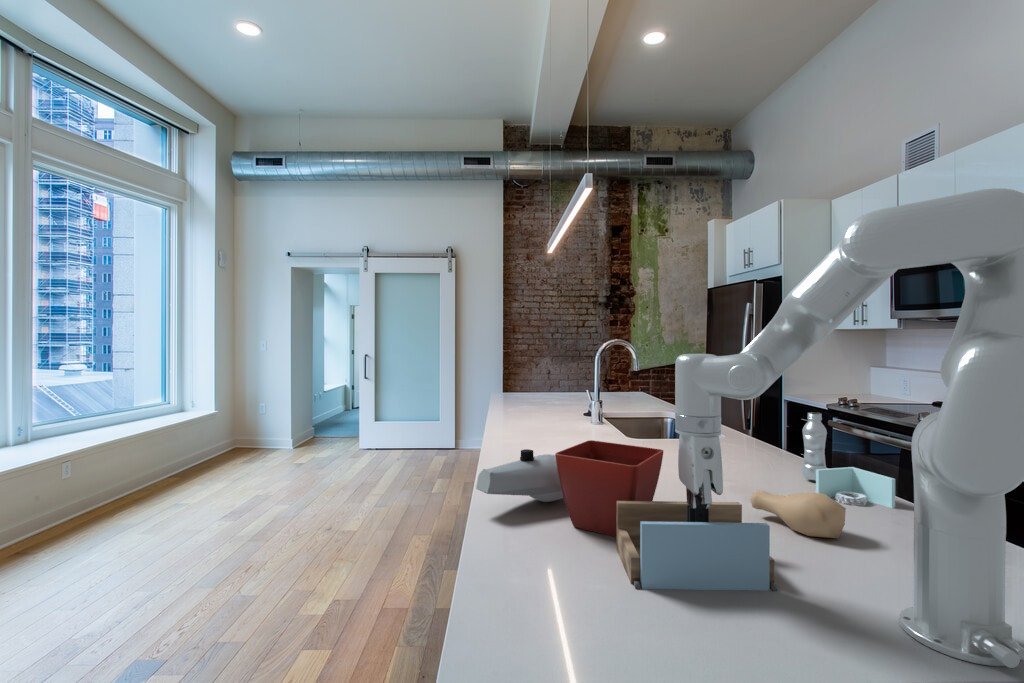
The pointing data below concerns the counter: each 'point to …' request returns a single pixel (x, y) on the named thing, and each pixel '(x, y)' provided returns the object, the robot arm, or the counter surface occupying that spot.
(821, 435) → the plastic bottle
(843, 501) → the l-shaped corner panel
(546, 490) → the street light
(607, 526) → the plant pot
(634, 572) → the box
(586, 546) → the counter surface
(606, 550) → the counter surface
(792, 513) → the squash
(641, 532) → the panel
